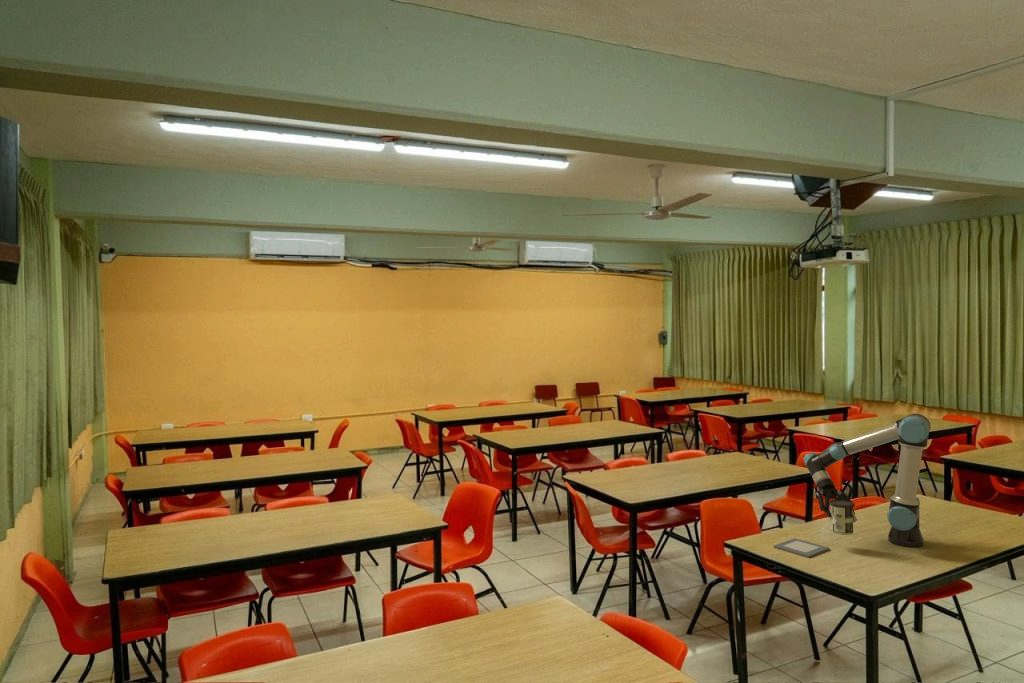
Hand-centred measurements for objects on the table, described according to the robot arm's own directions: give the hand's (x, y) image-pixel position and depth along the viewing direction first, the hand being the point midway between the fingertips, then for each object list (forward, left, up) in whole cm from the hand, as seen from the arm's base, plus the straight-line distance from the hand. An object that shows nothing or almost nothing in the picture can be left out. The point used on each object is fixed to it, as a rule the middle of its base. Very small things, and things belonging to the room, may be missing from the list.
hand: (845, 522), depth 315 cm
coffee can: (+3, -1, -6) cm, 6 cm away
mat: (+14, +14, -14) cm, 24 cm away
